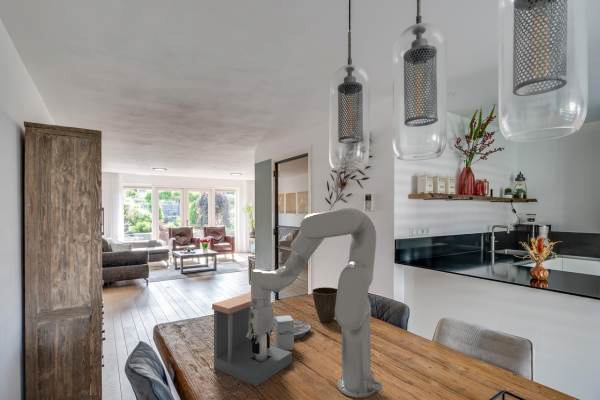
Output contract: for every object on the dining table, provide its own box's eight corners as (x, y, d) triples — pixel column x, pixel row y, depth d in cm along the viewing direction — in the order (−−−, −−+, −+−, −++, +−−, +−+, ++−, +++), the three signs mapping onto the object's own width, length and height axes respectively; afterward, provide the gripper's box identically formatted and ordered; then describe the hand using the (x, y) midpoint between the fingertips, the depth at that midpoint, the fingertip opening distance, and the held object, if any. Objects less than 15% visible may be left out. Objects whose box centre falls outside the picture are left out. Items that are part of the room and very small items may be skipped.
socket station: (292, 362, 122) (292, 300, 123) (255, 387, 105) (254, 315, 106) (251, 347, 135) (251, 292, 136) (211, 367, 118) (212, 304, 119)
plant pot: (307, 318, 172) (307, 288, 172) (331, 314, 178) (330, 286, 179) (320, 327, 158) (320, 295, 159) (345, 322, 165) (345, 292, 165)
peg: (269, 359, 118) (268, 332, 118) (261, 364, 115) (261, 336, 115) (260, 356, 121) (260, 330, 121) (253, 360, 117) (252, 334, 117)
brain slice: (318, 336, 147) (318, 330, 147) (285, 343, 140) (285, 336, 140) (300, 323, 165) (300, 317, 165) (270, 328, 158) (270, 322, 158)
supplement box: (277, 352, 131) (277, 321, 131) (274, 344, 138) (274, 316, 138) (294, 350, 133) (294, 320, 133) (290, 342, 140) (290, 314, 140)
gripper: (252, 309, 109) (252, 362, 109) (282, 298, 123) (282, 344, 123) (237, 305, 114) (237, 356, 113) (268, 295, 128) (268, 340, 127)
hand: (261, 349), depth 118 cm, fingers open, 5 cm apart
